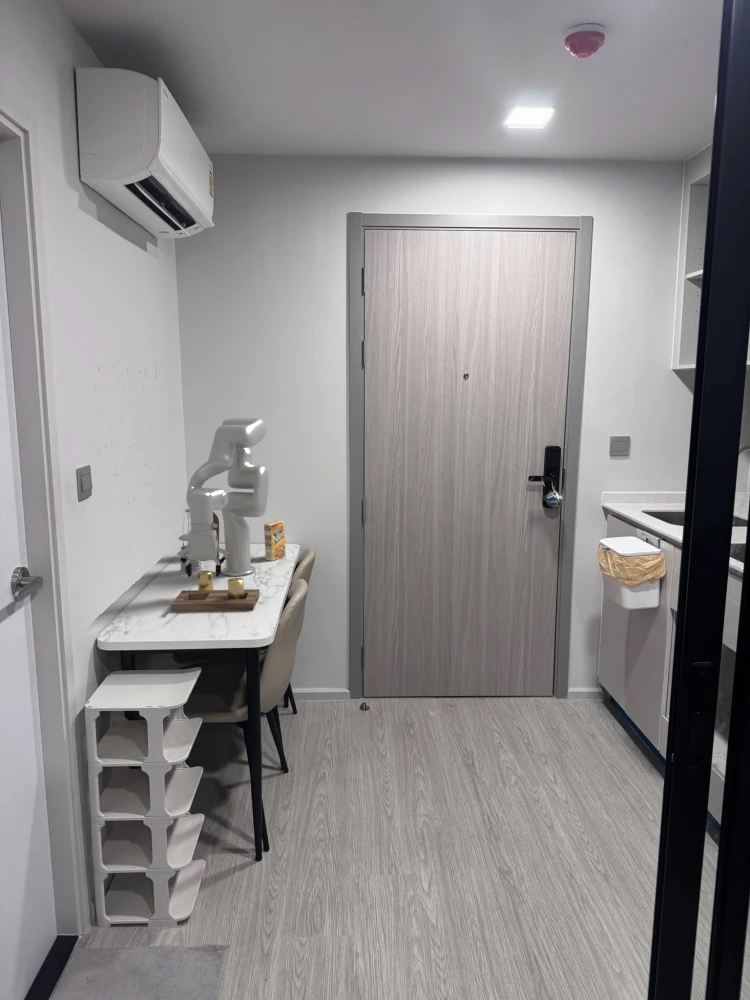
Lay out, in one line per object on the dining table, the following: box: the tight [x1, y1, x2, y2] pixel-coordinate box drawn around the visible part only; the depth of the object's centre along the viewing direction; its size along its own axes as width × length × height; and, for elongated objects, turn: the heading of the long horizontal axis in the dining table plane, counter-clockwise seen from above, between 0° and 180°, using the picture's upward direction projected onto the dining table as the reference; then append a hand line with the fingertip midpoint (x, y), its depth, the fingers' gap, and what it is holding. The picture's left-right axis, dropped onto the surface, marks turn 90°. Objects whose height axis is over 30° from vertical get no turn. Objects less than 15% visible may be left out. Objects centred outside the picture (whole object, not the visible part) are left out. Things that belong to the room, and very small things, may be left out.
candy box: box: [263, 520, 287, 562], centre depth 275 cm, size 9×4×15 cm, turn 150°
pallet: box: [170, 588, 260, 613], centre depth 216 cm, size 14×26×4 cm, turn 92°
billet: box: [196, 570, 214, 590], centre depth 228 cm, size 5×5×8 cm
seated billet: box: [227, 577, 245, 600], centre depth 215 cm, size 5×5×8 cm
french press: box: [178, 508, 205, 576], centre depth 255 cm, size 10×12×25 cm
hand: (203, 575), depth 227 cm, fingers open, 9 cm apart
